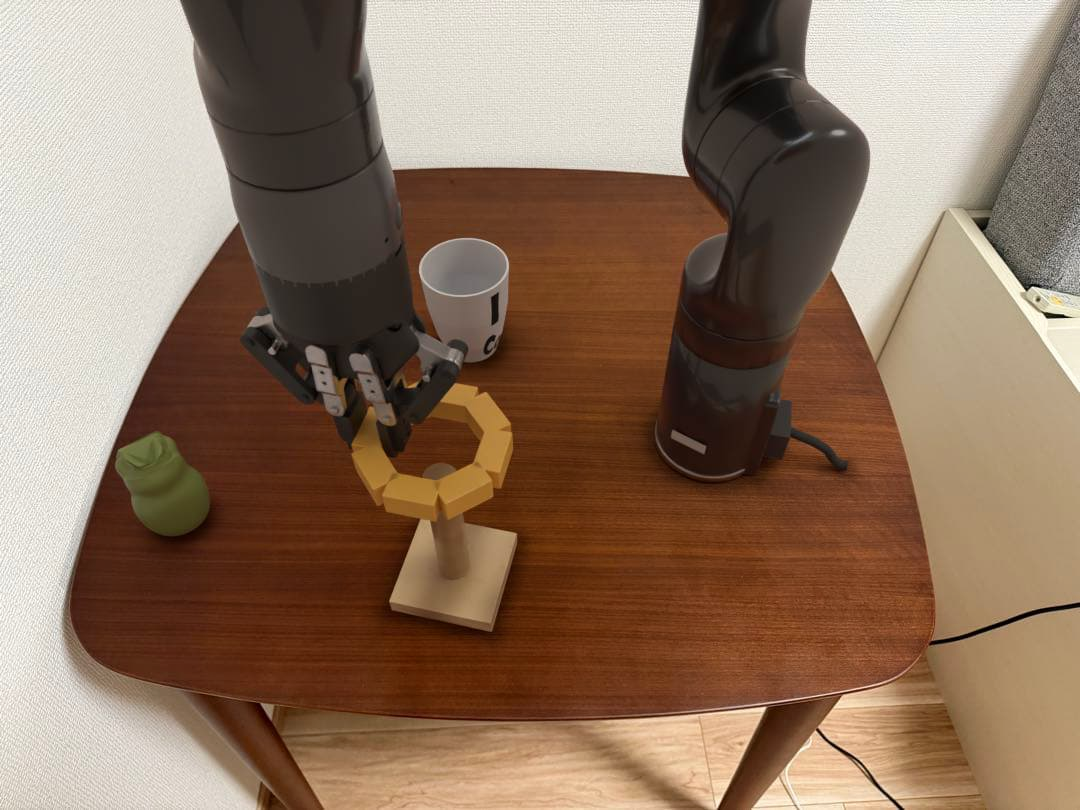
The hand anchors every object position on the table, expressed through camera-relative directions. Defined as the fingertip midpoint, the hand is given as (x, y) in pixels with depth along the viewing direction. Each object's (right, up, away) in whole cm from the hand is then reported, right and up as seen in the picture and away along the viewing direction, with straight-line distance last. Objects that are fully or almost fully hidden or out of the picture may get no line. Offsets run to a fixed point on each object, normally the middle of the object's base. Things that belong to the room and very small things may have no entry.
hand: (378, 443), depth 53 cm
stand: (+4, -11, +12) cm, 17 cm away
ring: (+4, -1, -1) cm, 4 cm away
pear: (-19, -7, +15) cm, 26 cm away
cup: (+4, +8, +28) cm, 30 cm away
